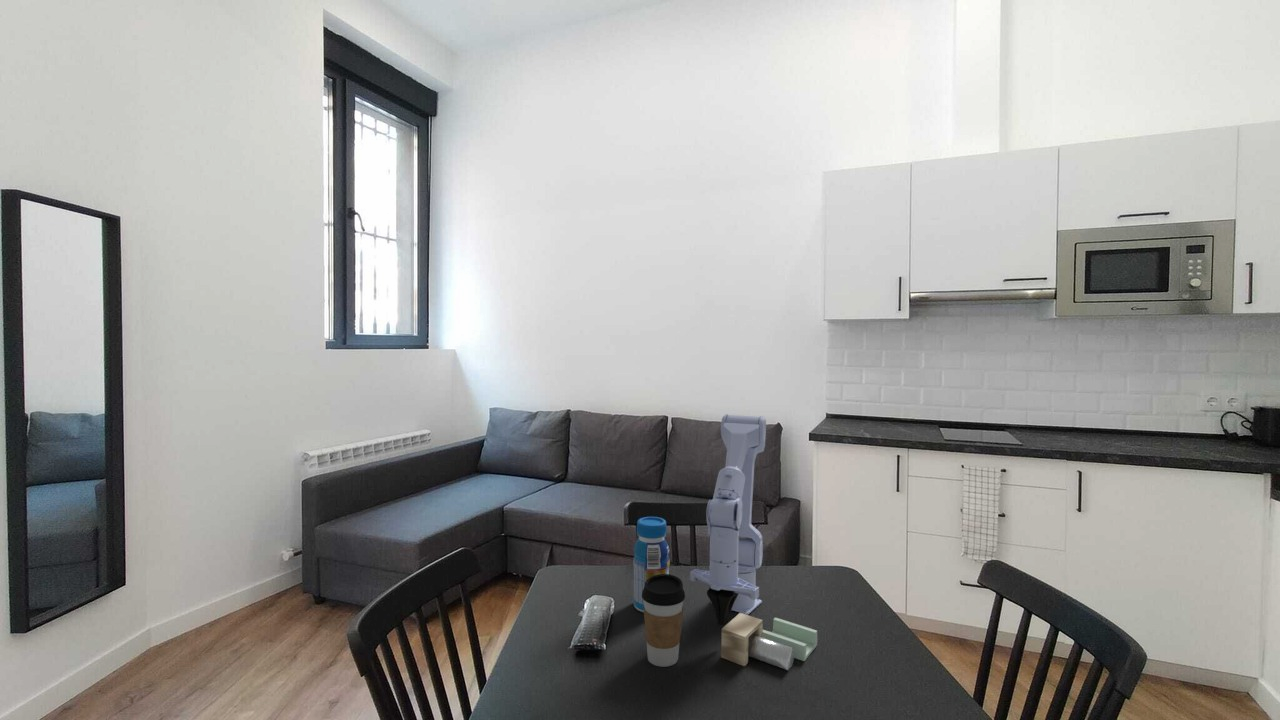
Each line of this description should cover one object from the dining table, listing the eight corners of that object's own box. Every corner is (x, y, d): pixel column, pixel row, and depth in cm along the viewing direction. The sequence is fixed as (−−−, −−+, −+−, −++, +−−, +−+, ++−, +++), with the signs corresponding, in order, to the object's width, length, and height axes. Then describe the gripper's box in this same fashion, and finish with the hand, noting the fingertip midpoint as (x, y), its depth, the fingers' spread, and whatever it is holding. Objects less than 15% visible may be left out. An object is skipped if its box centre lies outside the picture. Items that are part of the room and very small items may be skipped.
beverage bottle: (625, 608, 131) (626, 522, 130) (645, 594, 138) (646, 512, 137) (657, 618, 126) (657, 529, 125) (676, 603, 133) (676, 519, 132)
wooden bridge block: (721, 657, 111) (721, 628, 111) (739, 639, 118) (740, 612, 117) (744, 666, 108) (745, 637, 108) (762, 647, 115) (762, 620, 114)
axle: (726, 650, 113) (730, 628, 114) (735, 648, 116) (738, 627, 117) (784, 671, 106) (787, 648, 107) (792, 669, 109) (795, 646, 110)
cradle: (760, 646, 115) (761, 631, 115) (775, 631, 121) (775, 617, 121) (804, 661, 110) (804, 646, 110) (817, 645, 116) (817, 630, 116)
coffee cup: (689, 650, 114) (690, 576, 113) (678, 674, 106) (678, 595, 105) (649, 643, 116) (649, 570, 116) (635, 665, 108) (635, 588, 108)
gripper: (682, 555, 116) (682, 620, 116) (748, 573, 107) (747, 644, 108) (700, 545, 121) (699, 607, 122) (763, 561, 113) (762, 628, 114)
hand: (723, 623), depth 115 cm, fingers closed
